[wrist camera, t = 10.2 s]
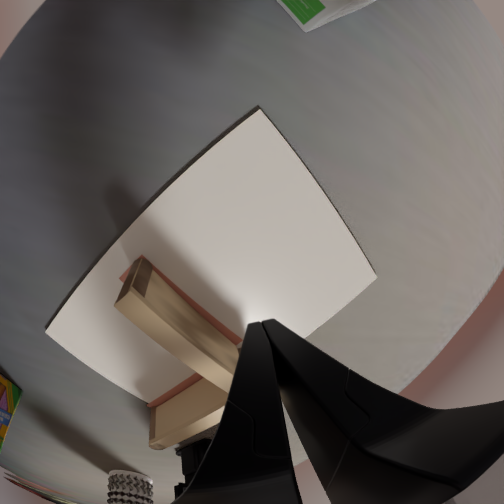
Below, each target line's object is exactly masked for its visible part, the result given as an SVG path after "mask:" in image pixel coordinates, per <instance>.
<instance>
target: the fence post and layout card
mask: <svg viewBox="0 0 504 504" xmlns="http://www.w3.org/2000/svg"><path fill="white" fill-rule="evenodd" d="M139 258H143V259H146V260H148V261H149V262H150V263H151V264H152V267H153V270H154V271H155V272H156V273H157V274H158V275H159V276H160V277H161V278H162V279H163V280H164V281H165V282H166V283H167V284H168V285H169V286H170V287H171V288H172V289H173V290H174V291H175V292H176V293H177V294H178V295H180V296H181V297H182V298H183V299H184V300H185V301H186V302H187V303H188V304H189V305H190V306H191V307H192V308H194V309H195V310H196V311H197V312H198V313H199V314H200V315H201V316H202V317H203V318H205V319H206V320H207V321H208V322H209V323H210V324H211V325H212V326H214V327H215V328H216V329H217V330H218V331H219V332H220V333H222V334H223V335H224V336H225V337H226V338H227V339H229V340H230V341H231V342H232V343H233V344H235V345H236V346H237V350H238V354H240V350H241V346H242V343H243V339H244V335H245V332H246V328H247V325H248V324H249V323H253V322H257V321H260V322H262V321H263V320H267V319H272V318H273V319H276V320H277V321H279V322H280V323H281V324H283V325H284V326H286V327H287V328H289V329H290V330H292V331H293V332H295V333H296V334H298V335H299V336H301V337H302V338H305V337H307V336H308V335H309V334H311V333H312V332H313V331H314V330H316V329H317V328H318V327H320V326H321V325H322V324H323V323H325V322H326V321H327V320H328V319H330V318H331V317H332V316H333V315H335V314H336V313H337V312H338V311H339V310H341V309H342V308H343V307H344V306H345V305H347V304H348V303H349V302H350V301H351V300H352V299H354V298H355V297H356V296H357V295H358V294H359V293H361V292H362V291H363V290H364V289H365V288H366V287H367V286H369V285H370V284H371V283H372V282H373V281H374V280H375V279H376V278H377V276H376V275H375V273H374V271H373V269H372V268H371V266H370V264H369V262H368V261H367V259H366V257H365V256H364V254H363V252H362V251H361V249H360V247H359V246H358V244H357V243H356V241H355V239H354V238H353V236H352V234H351V233H350V231H349V230H348V228H347V227H346V225H345V224H344V222H343V220H342V219H341V217H340V216H339V214H338V213H337V211H336V210H335V208H334V207H333V205H332V204H331V202H330V201H329V199H328V198H327V196H326V195H325V194H324V192H323V191H322V189H321V188H320V186H319V185H318V184H317V182H316V181H315V179H314V178H313V177H312V175H311V174H310V172H309V171H308V170H307V168H306V167H305V166H304V164H303V163H302V161H301V160H300V159H299V157H298V156H297V155H296V153H295V152H294V151H293V150H292V148H291V147H290V146H289V144H288V143H287V142H286V140H285V139H284V138H283V137H282V135H281V134H280V133H279V132H278V130H277V129H276V128H275V127H274V125H273V124H272V123H271V122H270V121H269V119H268V118H267V117H266V116H265V114H264V113H263V112H262V111H261V110H260V109H259V110H258V111H256V112H255V113H254V114H253V115H251V116H250V117H249V118H247V119H246V120H245V121H244V122H242V123H241V124H240V125H238V126H237V127H236V128H235V129H233V130H232V131H231V132H230V133H229V134H227V135H226V136H225V137H224V138H223V139H221V140H220V141H219V142H218V143H217V144H215V145H214V146H213V147H212V148H211V149H210V150H208V151H207V152H206V153H205V154H204V155H203V156H201V157H200V158H199V159H198V160H197V161H196V162H195V163H194V164H193V165H191V166H190V167H189V168H188V169H187V170H186V171H185V172H184V173H183V174H182V175H180V176H179V177H178V178H177V179H176V180H175V181H174V182H173V183H172V184H171V185H170V186H169V187H168V188H167V189H166V190H165V191H164V192H163V193H162V194H161V195H160V196H159V197H158V198H157V199H156V200H155V201H154V202H153V203H152V204H151V205H150V206H149V207H148V208H147V209H146V210H145V211H144V212H143V213H142V214H141V215H140V216H139V217H138V218H137V219H136V220H135V221H134V222H133V223H132V224H131V225H130V227H129V228H128V229H127V230H126V231H125V232H124V233H123V234H122V235H121V236H120V237H119V239H118V240H117V241H116V242H115V243H114V244H113V245H112V246H111V248H110V249H109V250H108V251H107V252H106V253H105V254H104V256H103V257H102V258H101V259H100V260H99V262H98V263H97V264H96V265H95V266H94V268H93V269H92V270H91V271H90V272H89V274H88V275H87V276H86V277H85V279H84V280H83V281H82V282H81V284H80V285H79V286H78V287H77V289H76V290H75V291H74V293H73V294H72V295H71V297H70V298H69V299H68V301H67V302H66V303H65V305H64V306H63V307H62V309H61V310H60V311H59V313H58V314H57V316H56V317H55V318H54V320H53V321H52V323H51V324H50V326H49V327H48V328H47V330H46V332H45V333H47V334H48V335H49V336H50V337H51V338H52V339H54V340H55V341H56V342H57V343H59V344H60V345H61V346H62V347H64V348H65V349H66V350H67V351H69V352H70V353H71V354H73V355H74V356H75V357H77V358H78V359H79V360H81V361H82V362H83V363H85V364H86V365H88V366H89V367H90V368H92V369H93V370H95V371H96V372H98V373H99V374H101V375H102V376H104V377H105V378H107V379H108V380H110V381H111V382H113V383H115V384H116V385H118V386H119V387H121V388H123V389H124V390H126V391H128V392H129V393H131V394H133V395H135V396H136V397H138V398H140V399H142V400H143V401H145V402H147V403H149V404H147V405H146V406H148V407H150V408H151V413H150V432H149V447H150V448H152V449H155V450H163V449H165V448H167V447H170V446H172V445H174V444H176V443H179V442H181V441H183V440H185V439H187V438H189V437H192V436H194V435H196V434H198V433H200V432H202V431H204V430H206V429H208V428H210V427H212V426H214V425H216V424H217V423H219V422H220V420H221V417H222V414H223V410H224V407H225V403H226V401H227V397H228V393H227V392H226V391H224V390H223V389H221V388H219V387H218V386H216V385H215V384H213V383H212V382H210V381H209V380H207V379H206V378H204V377H203V376H201V375H200V374H198V373H197V372H196V371H194V370H193V369H191V368H190V367H188V366H187V365H186V364H184V363H183V362H182V361H180V360H179V359H177V358H176V357H175V356H173V355H172V354H171V353H169V352H168V351H167V350H165V349H164V348H163V347H162V346H160V345H159V344H158V343H156V342H155V341H154V340H153V339H151V338H150V337H149V336H148V335H146V334H145V333H144V332H143V331H142V330H140V329H139V328H138V327H137V326H136V325H134V324H133V323H132V322H131V321H130V320H129V319H127V318H126V317H125V316H124V315H123V314H122V313H121V312H119V311H118V310H117V309H116V308H115V307H114V303H115V301H116V300H117V298H118V295H119V293H120V291H121V288H122V286H123V284H124V281H125V279H126V277H127V275H128V272H129V270H130V268H131V266H132V264H133V262H134V261H135V260H136V259H139Z"/></svg>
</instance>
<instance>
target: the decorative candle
mask: <svg viewBox="0 0 504 504" xmlns="http://www.w3.org/2000/svg"><path fill="white" fill-rule="evenodd" d="M109 475H110V477H109V478H108V480H109V485H108V489H109V490H110V491H111V492H109V493H107V494H108V496H109V497H110V499H108V500H107V502H108V503H109V504H153V501H152V500H151V499H150V498H152V497H153V492H152V490H153V486H152V485H151V484H152V483H153V481H152V479H151V478H149V477H148V476H146V475H143V474H140V473H136V472H132V471H126V470H111V471H110V472H109Z"/></svg>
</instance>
